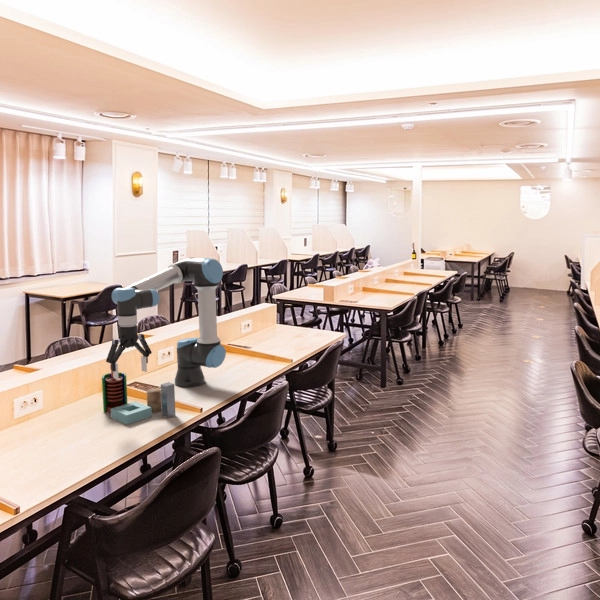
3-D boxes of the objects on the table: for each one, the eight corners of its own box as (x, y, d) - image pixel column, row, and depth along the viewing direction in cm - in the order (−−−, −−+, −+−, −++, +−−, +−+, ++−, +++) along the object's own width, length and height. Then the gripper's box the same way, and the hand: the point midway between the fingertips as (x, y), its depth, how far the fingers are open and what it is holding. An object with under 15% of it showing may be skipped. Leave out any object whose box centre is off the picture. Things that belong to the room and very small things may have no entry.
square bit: (169, 413, 232) (168, 382, 230) (175, 415, 230) (174, 384, 228) (162, 416, 229) (160, 384, 227) (167, 418, 227) (166, 386, 225)
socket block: (135, 410, 236) (135, 401, 236) (151, 416, 229) (151, 407, 228) (111, 417, 227) (110, 408, 227) (127, 424, 220) (126, 415, 219)
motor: (106, 414, 231) (104, 369, 228) (100, 408, 238) (98, 365, 235) (130, 409, 237) (127, 366, 234) (123, 404, 244) (121, 361, 241)
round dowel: (156, 407, 240) (155, 387, 239) (164, 410, 236) (163, 390, 235) (144, 411, 235) (143, 391, 234) (153, 414, 232) (152, 394, 230)
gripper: (148, 319, 234) (150, 366, 237) (95, 328, 215) (98, 379, 218) (158, 321, 229) (160, 369, 232) (105, 331, 210) (108, 383, 213)
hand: (130, 374), depth 225 cm, fingers open, 13 cm apart
